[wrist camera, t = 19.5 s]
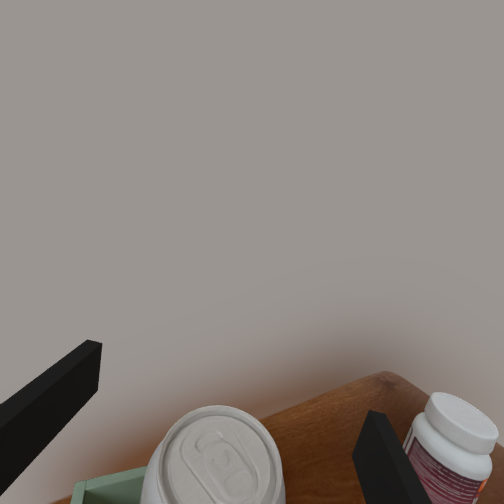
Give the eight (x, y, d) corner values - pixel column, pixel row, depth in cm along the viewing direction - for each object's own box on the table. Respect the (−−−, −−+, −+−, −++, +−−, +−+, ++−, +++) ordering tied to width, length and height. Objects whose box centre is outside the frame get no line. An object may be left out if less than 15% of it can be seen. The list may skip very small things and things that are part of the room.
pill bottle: (470, 559, 22) (527, 459, 20) (395, 520, 24) (439, 423, 21) (443, 487, 28) (484, 403, 26) (383, 460, 30) (417, 379, 27)
